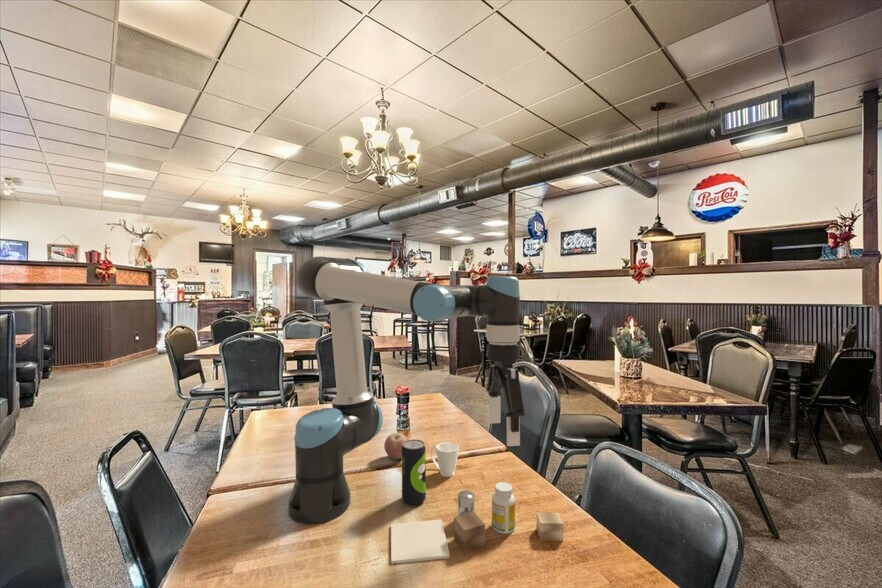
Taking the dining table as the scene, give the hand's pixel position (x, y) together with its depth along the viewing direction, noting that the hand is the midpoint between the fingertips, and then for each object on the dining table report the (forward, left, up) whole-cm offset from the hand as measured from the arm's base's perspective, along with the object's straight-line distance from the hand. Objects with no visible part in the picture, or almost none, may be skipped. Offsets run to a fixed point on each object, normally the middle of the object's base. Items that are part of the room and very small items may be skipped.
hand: (503, 433), depth 87 cm
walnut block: (-9, -5, -22) cm, 24 cm away
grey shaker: (-8, +3, -22) cm, 24 cm away
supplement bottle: (0, -1, -22) cm, 22 cm away
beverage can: (-20, +13, -22) cm, 33 cm away
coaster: (-20, -3, -22) cm, 30 cm away
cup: (-10, +27, -22) cm, 37 cm away
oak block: (+9, -5, -22) cm, 24 cm away
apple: (-24, +38, -22) cm, 50 cm away
